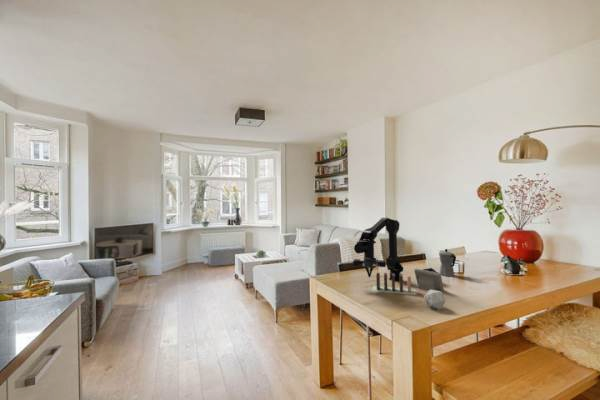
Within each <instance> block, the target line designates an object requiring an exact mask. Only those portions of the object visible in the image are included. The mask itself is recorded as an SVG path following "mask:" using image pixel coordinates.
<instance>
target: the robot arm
mask: <svg viewBox="0 0 600 400" xmlns="http://www.w3.org/2000/svg"><path fill="white" fill-rule="evenodd" d="M384 228H385V230H386V232H387V233H388V251H389V252H388V253H389V254H388V257H386V258H385V260H382V259H379V260H378V261H377V257H375V244H376V243H377V242H376V241H375V239H376V238H377V237H378V234H379V232H380V231H381V230H383V229H384ZM399 230H400V222H399V221H398V219H391V218H390V217H381V218H380V219H379V220H378V221H377V222H376V223H375V224H373V226H371V227H369V228H366V229H364V230H363V231H362V232H361V235H360V237H359V239H358V241H356V243H355V245H354V246H353V249H354V252H355V253H356V254H358V255H359V254H363V255H364V256H363V260H361V259H360V258H354V260H353V262H352V265H353V266H360V265H362V268H364V269H365V271H366V273H367V275H368V276H367V277H368V278H371V276H372V272H373V270H374V269H375V268H376V266H378V267H379V268H387V270H388V271H389V278H388V280H390V281H392V274H395V282H400V274H402V272H403V271H404V267H403V265H402V264H401V260H400V259H401V258H399V256H398V237H397V236H398V235H397V233H398V232H399Z"/></svg>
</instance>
